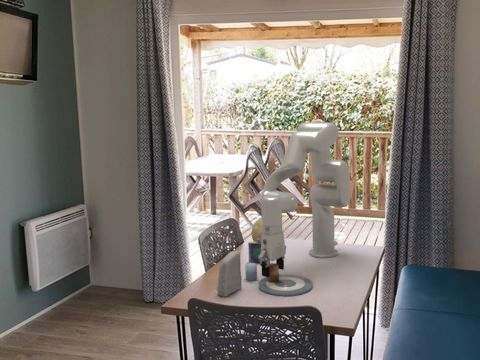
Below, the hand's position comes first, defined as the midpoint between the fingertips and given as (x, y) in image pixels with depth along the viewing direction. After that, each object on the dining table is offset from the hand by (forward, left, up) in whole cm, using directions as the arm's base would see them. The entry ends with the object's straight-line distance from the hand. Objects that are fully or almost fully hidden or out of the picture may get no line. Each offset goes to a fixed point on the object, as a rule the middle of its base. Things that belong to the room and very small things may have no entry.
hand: (273, 272), depth 199 cm
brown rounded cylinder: (0, 0, -3) cm, 3 cm away
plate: (0, +6, -4) cm, 7 cm away
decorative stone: (+16, -8, -4) cm, 19 cm away
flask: (-17, -18, -4) cm, 25 cm away
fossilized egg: (-36, -28, -4) cm, 46 cm away
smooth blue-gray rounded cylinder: (+1, -9, -4) cm, 10 cm away
